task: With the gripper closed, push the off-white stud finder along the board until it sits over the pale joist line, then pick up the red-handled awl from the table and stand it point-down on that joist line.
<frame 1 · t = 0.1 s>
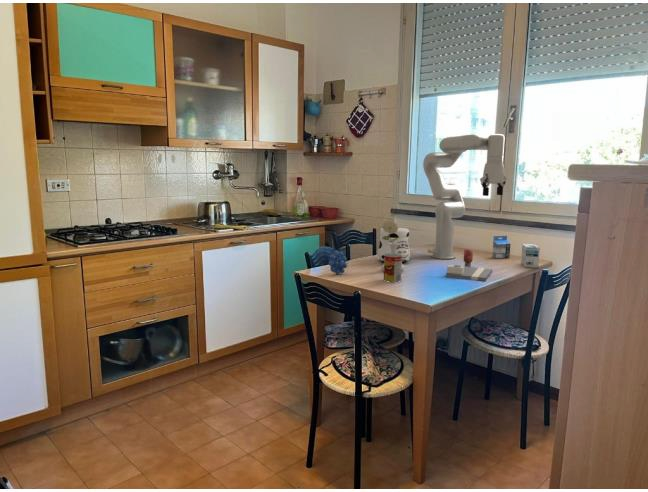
hand: (492, 195, 232), 37 cm above the table, tool pointing down, fingers open, 9 cm apart
light bulb box: (529, 265, 247), on the table
label tape cartridge: (500, 258, 266), on the table
subfloor board: (469, 274, 227), on the table
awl: (467, 267, 243), on the table
grapes: (339, 275, 225), on the table
stud finder: (455, 269, 224), point 3 cm above the table, slide at 0.0 cm
flower in vase: (391, 270, 235), on the table
canned food: (392, 281, 215), on the table
milk container: (393, 262, 255), on the table
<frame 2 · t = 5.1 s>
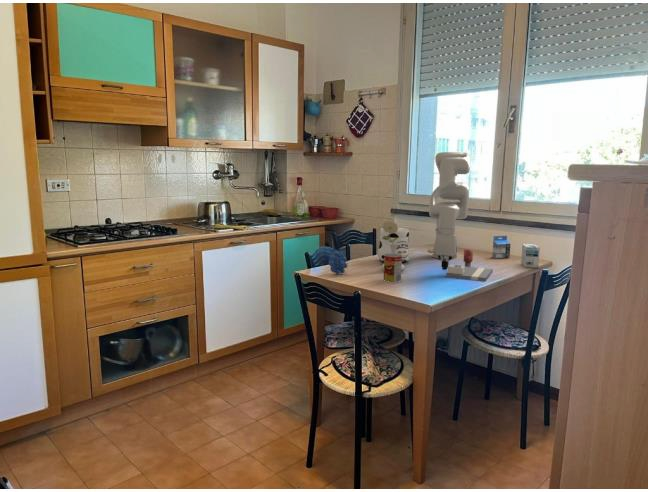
hand: (444, 269, 226), 3 cm above the table, tool pointing down, fingers closed
stud finder: (456, 269, 224), point 3 cm above the table, slide at 0.2 cm, touching gripper
everything else where it was.
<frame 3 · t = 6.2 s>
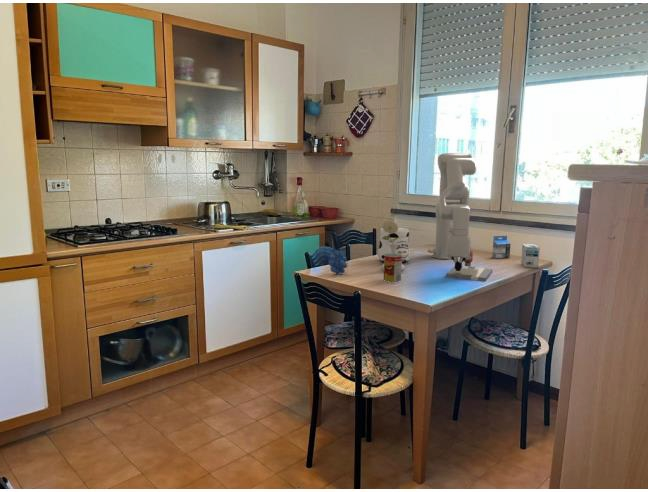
hand: (458, 270, 223), 3 cm above the table, tool pointing down, fingers closed
stud finder: (469, 270, 221), point 3 cm above the table, slide at 6.6 cm, touching gripper
everything else where it was.
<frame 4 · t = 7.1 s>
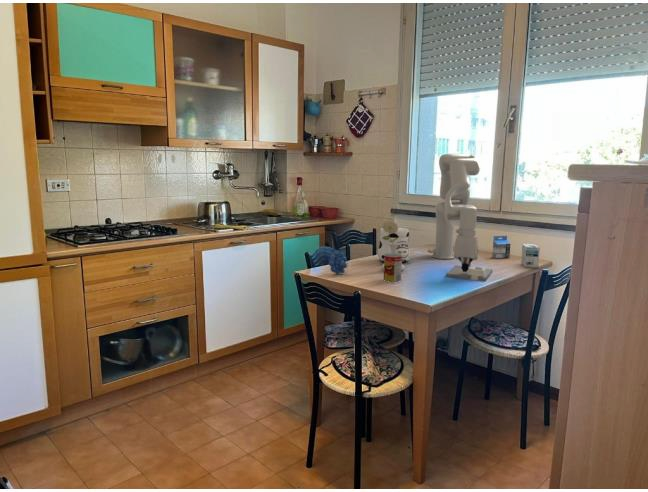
hand: (464, 271, 222), 3 cm above the table, tool pointing down, fingers closed
stud finder: (476, 271, 219), point 3 cm above the table, slide at 9.8 cm, touching gripper
everything else where it was.
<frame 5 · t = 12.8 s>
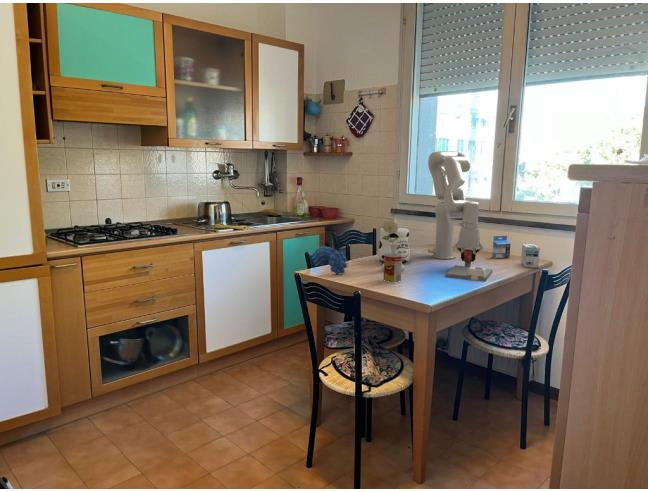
hand: (468, 260, 242), 3 cm above the table, tool pointing down, fingers closed on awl, 4 cm apart
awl: (467, 267, 243), on the table, touching gripper
stud finder: (477, 271, 219), point 3 cm above the table, slide at 9.9 cm
everything else where it was.
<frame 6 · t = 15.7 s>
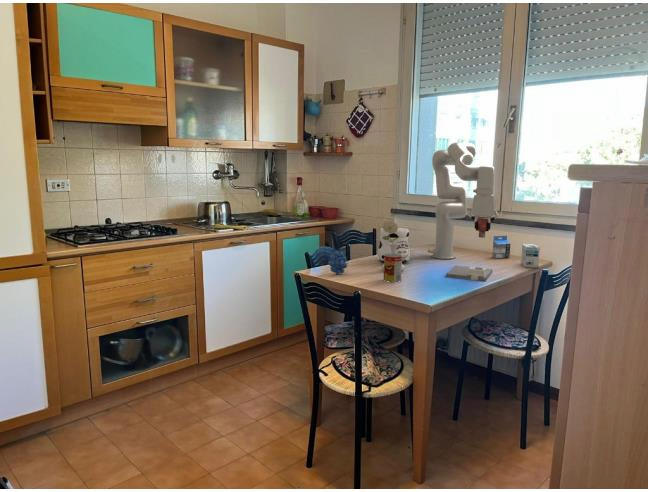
hand: (482, 230, 225), 21 cm above the table, tool pointing down, fingers closed on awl, 4 cm apart
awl: (481, 237, 226), point 18 cm above the table, touching gripper
everything else where it was.
when the fingers open (6 cm above the table, at t = 18.9 s): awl stays where it is, resting on subfloor board.
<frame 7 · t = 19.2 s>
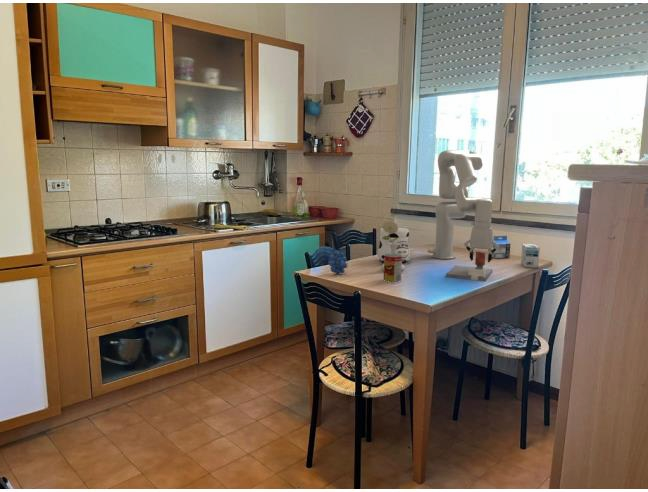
hand: (480, 260, 228), 6 cm above the table, tool pointing down, fingers open, 7 cm apart
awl: (479, 270, 229), point 2 cm above the table, touching subfloor board
everything else where it was.
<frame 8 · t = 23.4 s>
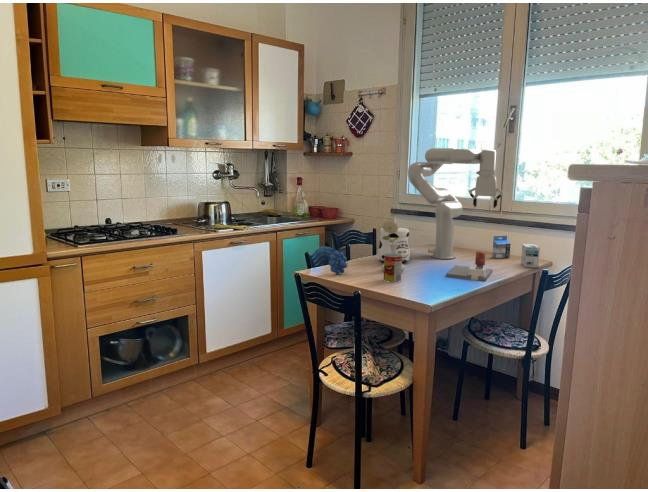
hand: (484, 207, 245), 30 cm above the table, tool pointing down, fingers open, 9 cm apart
nothing on the table moved.
at the end: stud finder slide at 9.9 cm; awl 0.1 cm from the target spot, point 1.5 cm above the table; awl tilted 0° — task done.
